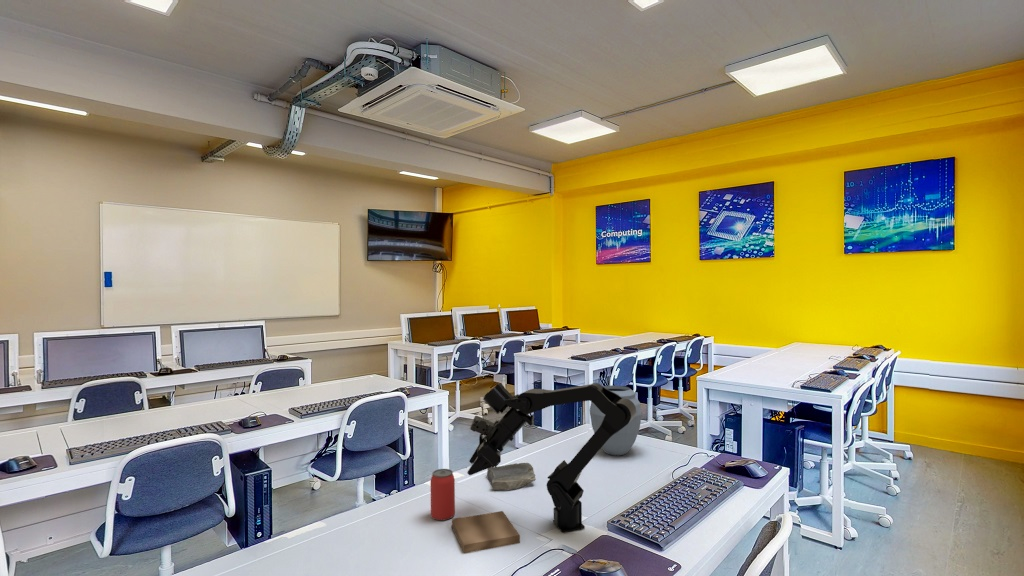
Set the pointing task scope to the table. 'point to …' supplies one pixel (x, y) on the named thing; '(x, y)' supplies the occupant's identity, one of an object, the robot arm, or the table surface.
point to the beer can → (442, 494)
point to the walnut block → (484, 531)
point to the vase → (627, 434)
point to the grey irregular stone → (510, 476)
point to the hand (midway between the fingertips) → (469, 468)
